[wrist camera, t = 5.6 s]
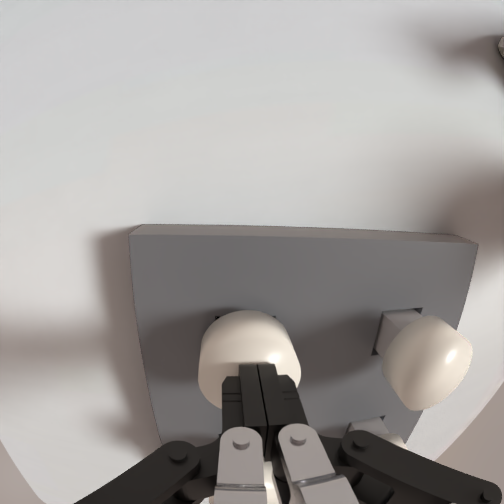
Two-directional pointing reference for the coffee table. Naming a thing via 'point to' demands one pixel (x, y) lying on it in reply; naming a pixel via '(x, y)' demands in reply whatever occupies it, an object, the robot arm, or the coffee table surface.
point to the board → (288, 311)
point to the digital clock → (501, 46)
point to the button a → (243, 350)
